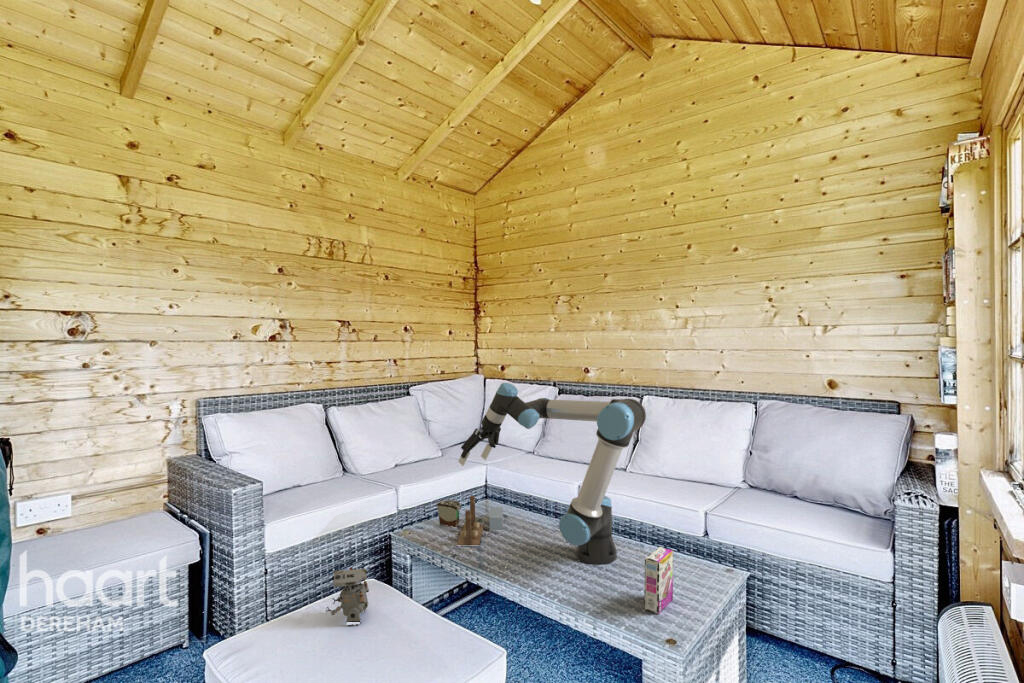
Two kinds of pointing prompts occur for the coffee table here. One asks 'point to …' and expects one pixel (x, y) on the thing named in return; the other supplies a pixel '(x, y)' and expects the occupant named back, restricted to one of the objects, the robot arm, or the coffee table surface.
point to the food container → (449, 512)
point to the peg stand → (470, 527)
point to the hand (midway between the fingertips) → (472, 460)
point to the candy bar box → (658, 579)
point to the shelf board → (496, 518)
